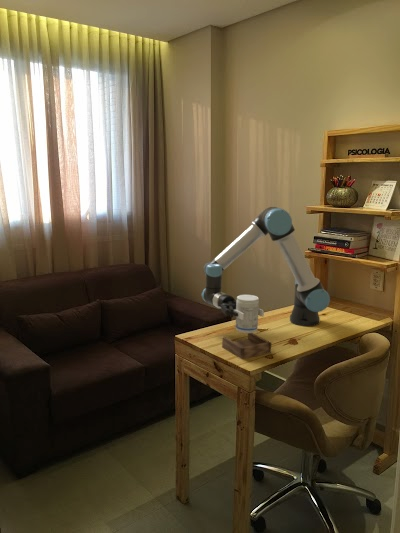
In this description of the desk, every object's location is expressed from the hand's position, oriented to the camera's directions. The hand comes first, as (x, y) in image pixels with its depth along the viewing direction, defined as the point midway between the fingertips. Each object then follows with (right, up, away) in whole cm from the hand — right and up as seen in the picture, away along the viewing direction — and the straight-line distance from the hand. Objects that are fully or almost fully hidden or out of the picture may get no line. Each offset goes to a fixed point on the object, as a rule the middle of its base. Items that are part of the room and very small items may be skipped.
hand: (253, 315), depth 190 cm
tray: (-2, -16, +7) cm, 17 cm away
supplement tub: (-2, -7, +5) cm, 9 cm away
